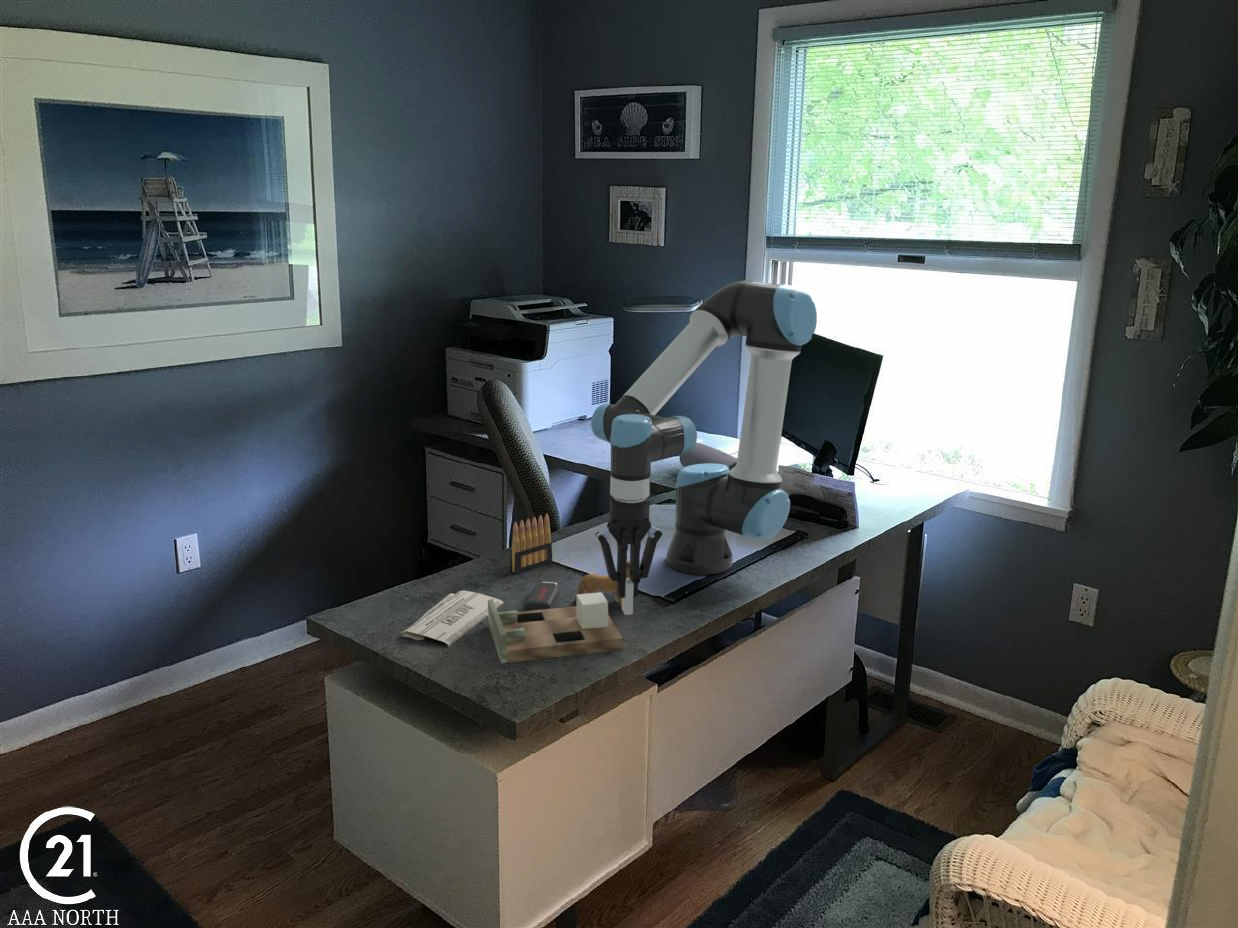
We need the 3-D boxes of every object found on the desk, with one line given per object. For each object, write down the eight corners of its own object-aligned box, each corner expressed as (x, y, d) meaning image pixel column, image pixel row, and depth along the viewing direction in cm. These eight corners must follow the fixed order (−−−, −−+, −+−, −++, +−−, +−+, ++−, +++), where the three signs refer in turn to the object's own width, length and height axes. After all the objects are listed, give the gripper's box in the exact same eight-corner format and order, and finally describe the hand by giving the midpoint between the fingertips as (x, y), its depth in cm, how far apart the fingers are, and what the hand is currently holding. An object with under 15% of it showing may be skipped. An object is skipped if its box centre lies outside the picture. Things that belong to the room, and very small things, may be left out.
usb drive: (524, 613, 206) (524, 600, 205) (537, 590, 218) (537, 578, 217) (550, 615, 206) (549, 602, 205) (561, 591, 217) (561, 579, 216)
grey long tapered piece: (748, 490, 286) (750, 457, 283) (722, 495, 281) (723, 461, 279) (703, 470, 305) (704, 438, 302) (677, 474, 300) (678, 441, 297)
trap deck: (601, 614, 205) (601, 589, 204) (622, 649, 190) (623, 622, 189) (488, 626, 199) (487, 599, 197) (501, 663, 184) (500, 635, 183)
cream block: (601, 615, 199) (601, 592, 198) (607, 626, 194) (608, 602, 193) (576, 618, 198) (576, 594, 196) (582, 629, 193) (582, 604, 192)
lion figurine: (635, 595, 215) (636, 555, 212) (642, 605, 210) (643, 565, 207) (567, 602, 211) (568, 562, 208) (574, 612, 206) (574, 571, 203)
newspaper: (452, 596, 214) (452, 585, 213) (503, 611, 210) (503, 600, 209) (390, 639, 194) (390, 627, 193) (445, 656, 190) (446, 644, 189)
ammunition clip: (515, 574, 224) (514, 523, 221) (510, 572, 226) (509, 521, 222) (552, 563, 231) (552, 513, 228) (547, 560, 233) (547, 511, 229)
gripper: (656, 488, 196) (653, 600, 203) (591, 493, 192) (590, 607, 199) (668, 500, 189) (664, 616, 196) (601, 505, 186) (599, 623, 192)
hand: (627, 611), depth 197 cm, fingers closed
